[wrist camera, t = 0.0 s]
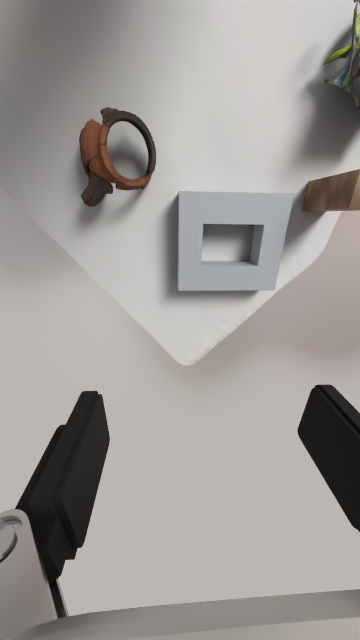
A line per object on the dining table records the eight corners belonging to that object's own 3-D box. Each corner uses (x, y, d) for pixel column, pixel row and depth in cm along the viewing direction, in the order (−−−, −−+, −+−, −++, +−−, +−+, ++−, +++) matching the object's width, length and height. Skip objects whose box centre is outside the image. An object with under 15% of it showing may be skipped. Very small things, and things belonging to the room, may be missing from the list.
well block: (178, 193, 33) (179, 191, 30) (280, 196, 34) (294, 193, 31) (177, 283, 39) (178, 290, 36) (264, 283, 40) (274, 290, 37)
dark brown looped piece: (90, 101, 29) (111, 73, 23) (147, 157, 35) (175, 147, 29) (53, 187, 30) (63, 183, 24) (114, 227, 36) (134, 231, 30)
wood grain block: (308, 181, 34) (360, 169, 25) (334, 182, 34) (394, 169, 25) (302, 210, 35) (348, 208, 26) (326, 211, 36) (380, 209, 27)
